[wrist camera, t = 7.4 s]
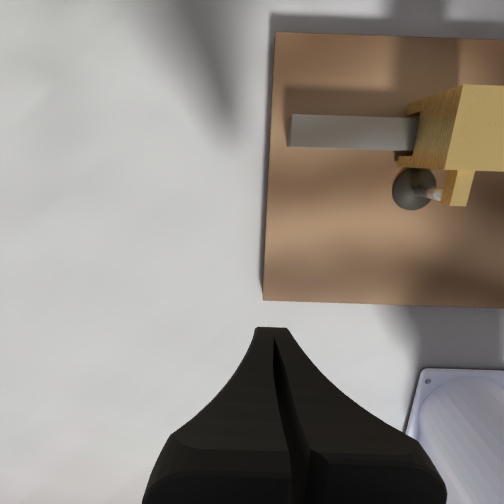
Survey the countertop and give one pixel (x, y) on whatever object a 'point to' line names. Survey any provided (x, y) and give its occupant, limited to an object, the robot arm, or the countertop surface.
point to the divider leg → (457, 139)
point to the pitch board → (374, 176)
